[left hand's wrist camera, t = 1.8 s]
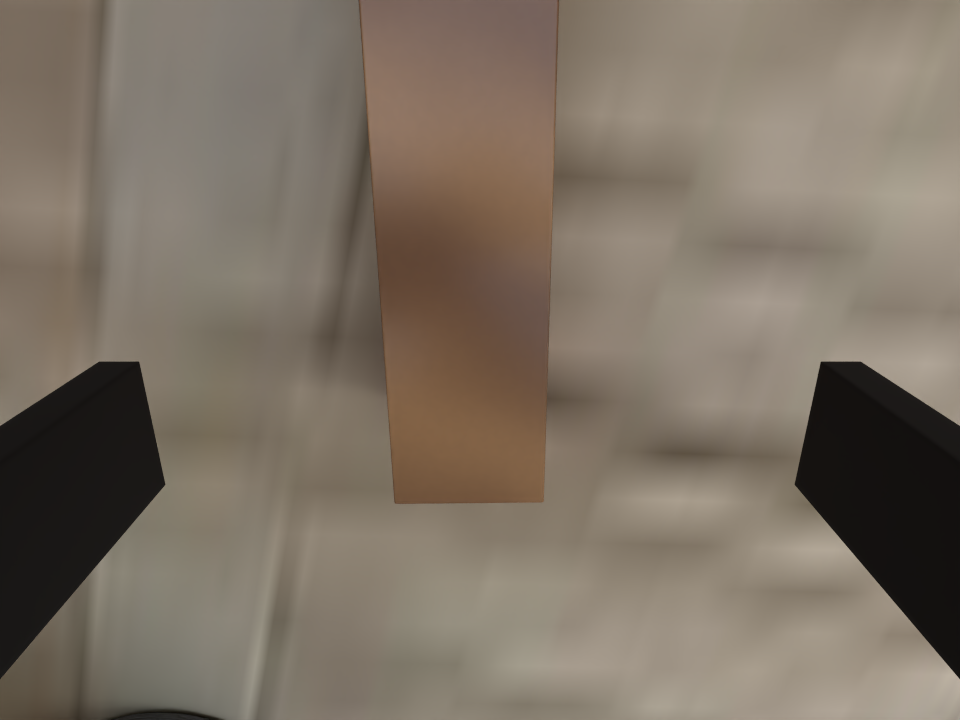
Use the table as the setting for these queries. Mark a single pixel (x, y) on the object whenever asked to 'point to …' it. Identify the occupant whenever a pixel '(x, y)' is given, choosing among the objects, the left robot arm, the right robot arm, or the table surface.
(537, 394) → the beam
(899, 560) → the left robot arm
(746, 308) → the table surface
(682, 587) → the table surface
